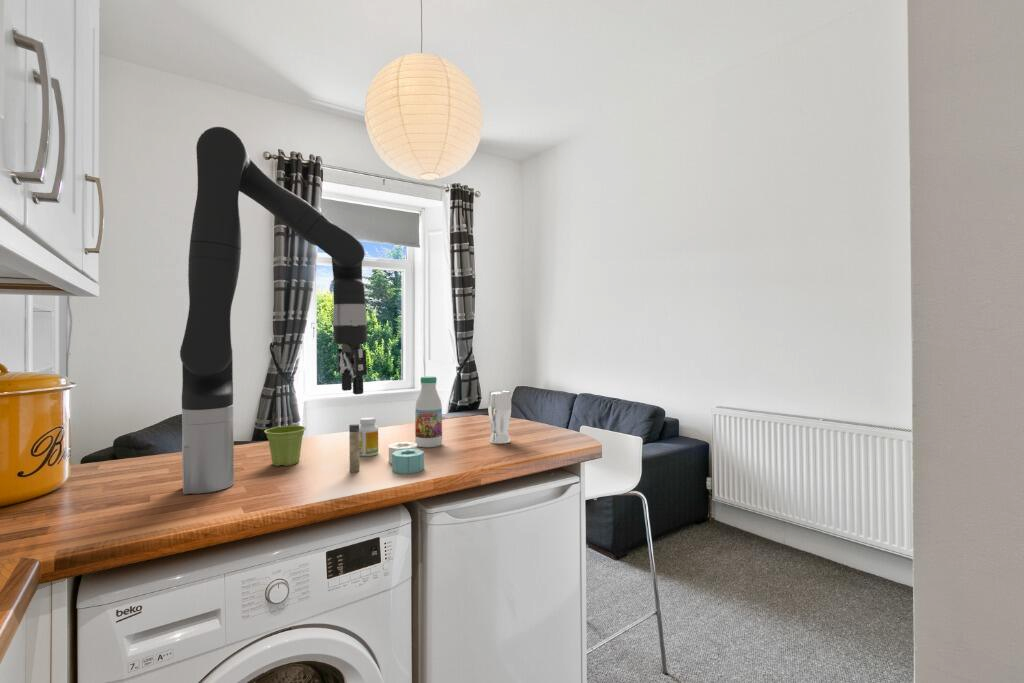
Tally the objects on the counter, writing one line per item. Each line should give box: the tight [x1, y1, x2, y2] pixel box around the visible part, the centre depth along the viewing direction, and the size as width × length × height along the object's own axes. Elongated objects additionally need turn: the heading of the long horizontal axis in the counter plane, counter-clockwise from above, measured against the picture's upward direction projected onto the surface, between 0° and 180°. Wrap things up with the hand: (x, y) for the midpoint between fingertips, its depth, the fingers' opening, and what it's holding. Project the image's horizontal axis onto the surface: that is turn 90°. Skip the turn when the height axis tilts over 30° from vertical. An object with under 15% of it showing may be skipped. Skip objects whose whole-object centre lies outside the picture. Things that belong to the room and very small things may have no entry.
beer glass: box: [487, 390, 512, 445], centre depth 144 cm, size 7×7×15 cm
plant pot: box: [263, 425, 306, 467], centre depth 121 cm, size 9×9×9 cm
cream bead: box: [388, 441, 418, 465], centre depth 124 cm, size 7×7×4 cm
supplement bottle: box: [359, 416, 379, 457], centre depth 130 cm, size 5×5×10 cm
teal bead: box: [391, 448, 425, 474], centre depth 116 cm, size 7×7×4 cm
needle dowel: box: [348, 423, 360, 473], centre depth 114 cm, size 2×2×11 cm
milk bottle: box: [414, 375, 443, 448], centre depth 141 cm, size 8×8×20 cm
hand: (352, 392), depth 114 cm, fingers open, 8 cm apart
